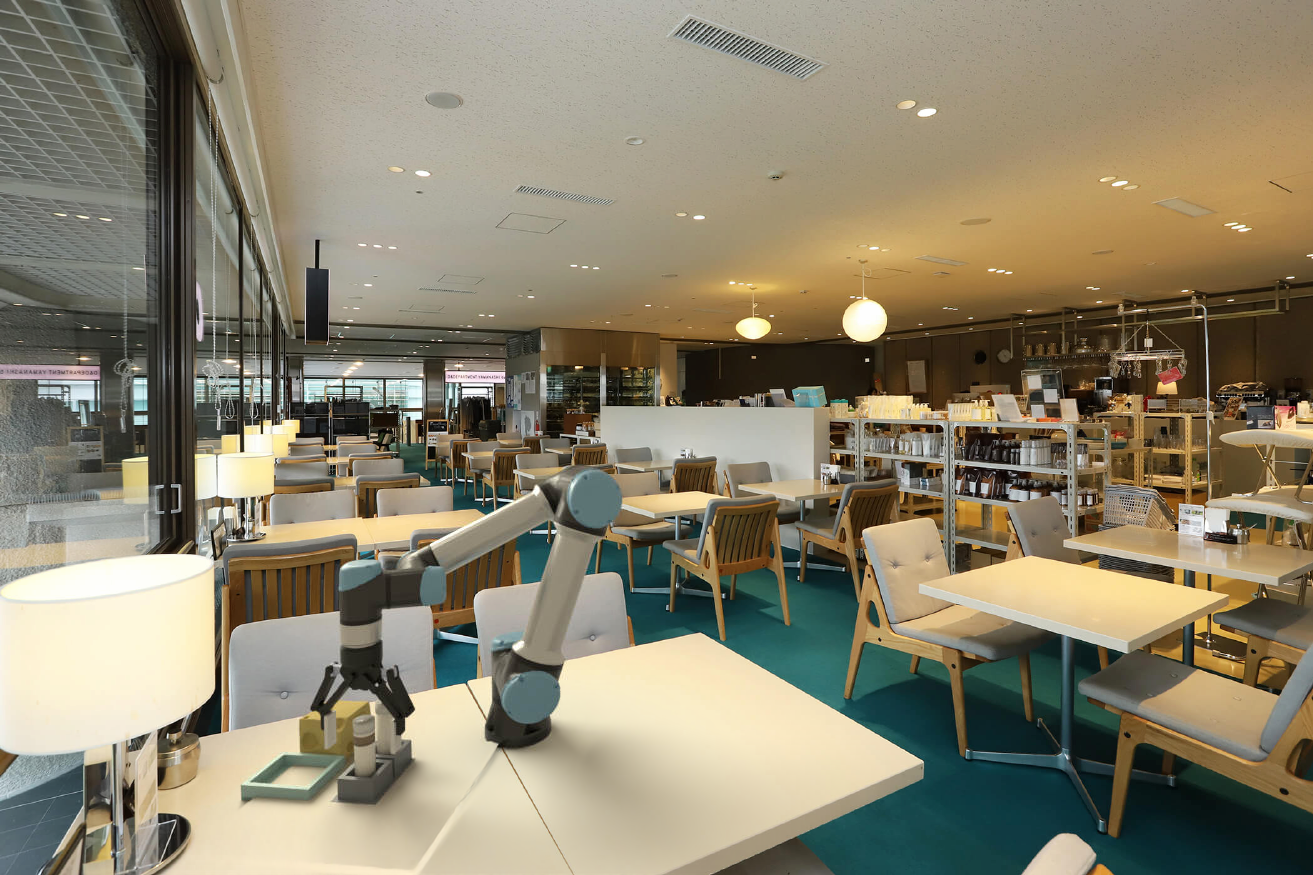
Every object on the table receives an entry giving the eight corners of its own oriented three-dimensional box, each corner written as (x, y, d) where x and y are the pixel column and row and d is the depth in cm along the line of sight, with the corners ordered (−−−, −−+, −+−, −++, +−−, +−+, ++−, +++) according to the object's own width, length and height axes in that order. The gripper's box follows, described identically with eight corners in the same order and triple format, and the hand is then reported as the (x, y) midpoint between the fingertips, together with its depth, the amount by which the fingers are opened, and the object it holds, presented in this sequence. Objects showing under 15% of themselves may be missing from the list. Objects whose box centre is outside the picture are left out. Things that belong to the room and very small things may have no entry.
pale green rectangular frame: (345, 769, 137) (345, 755, 137) (308, 804, 125) (308, 789, 125) (283, 765, 139) (282, 751, 138) (241, 799, 127) (240, 784, 127)
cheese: (341, 769, 137) (340, 723, 137) (296, 763, 139) (295, 718, 139) (372, 743, 147) (371, 700, 147) (330, 738, 150) (329, 696, 149)
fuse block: (415, 762, 139) (414, 694, 139) (375, 809, 124) (373, 732, 123) (376, 760, 140) (374, 692, 140) (330, 806, 125) (328, 729, 124)
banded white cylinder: (381, 783, 130) (379, 715, 129) (370, 795, 126) (367, 725, 125) (362, 782, 131) (360, 714, 130) (350, 794, 127) (348, 723, 126)
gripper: (431, 637, 129) (432, 742, 130) (313, 631, 132) (315, 733, 133) (413, 651, 122) (414, 762, 123) (288, 645, 124) (291, 753, 126)
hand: (363, 747), depth 128 cm, fingers open, 13 cm apart
